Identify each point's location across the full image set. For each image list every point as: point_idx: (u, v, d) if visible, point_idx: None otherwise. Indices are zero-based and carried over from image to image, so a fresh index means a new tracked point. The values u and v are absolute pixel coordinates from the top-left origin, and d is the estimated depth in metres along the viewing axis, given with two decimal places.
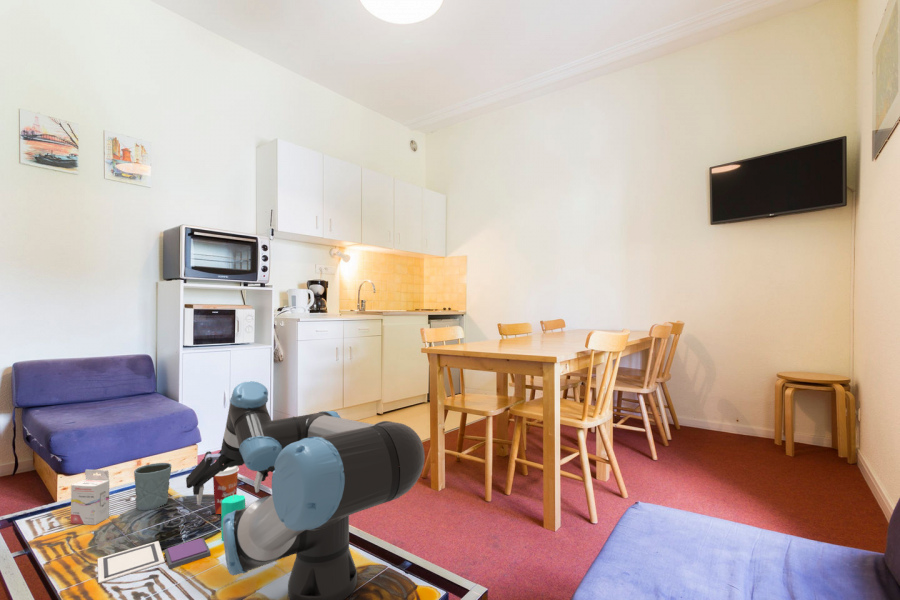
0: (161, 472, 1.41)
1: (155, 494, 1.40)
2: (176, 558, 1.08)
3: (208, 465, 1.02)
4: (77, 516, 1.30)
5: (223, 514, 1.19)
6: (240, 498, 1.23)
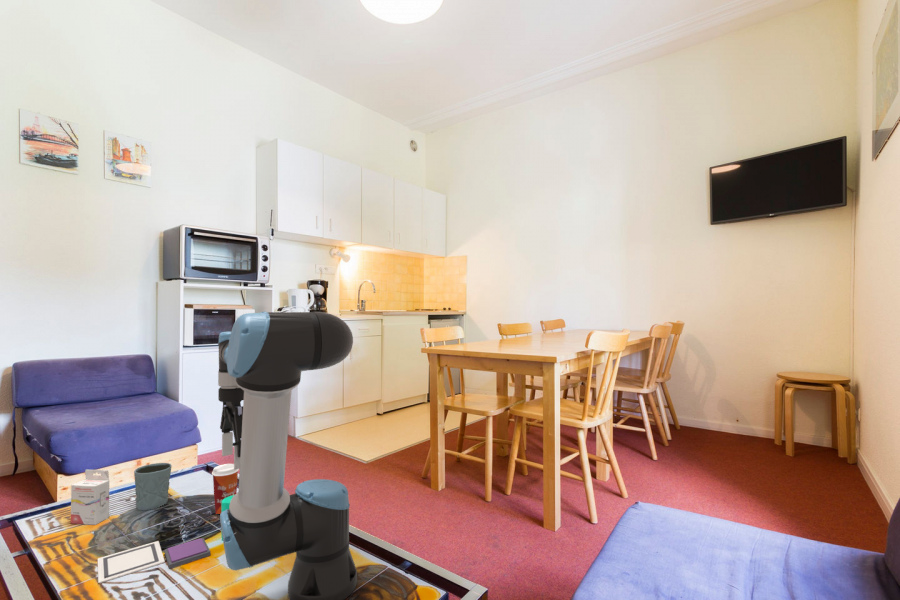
0: (161, 472, 1.41)
1: (155, 494, 1.40)
2: (176, 558, 1.08)
3: (223, 407, 1.26)
4: (77, 516, 1.30)
5: None
6: None
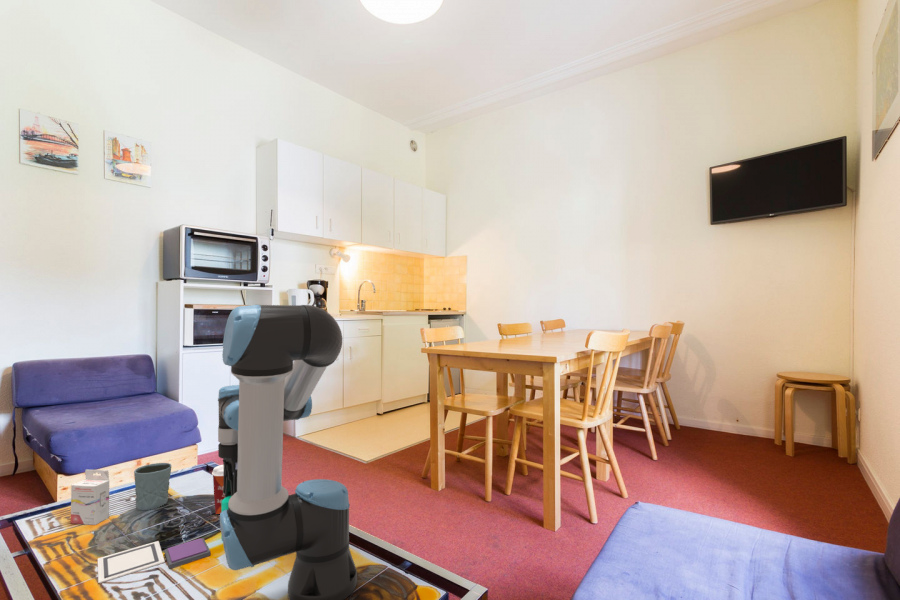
0: (161, 472, 1.41)
1: (155, 494, 1.40)
2: (176, 558, 1.08)
3: (224, 466, 1.25)
4: (77, 516, 1.30)
5: None
6: None
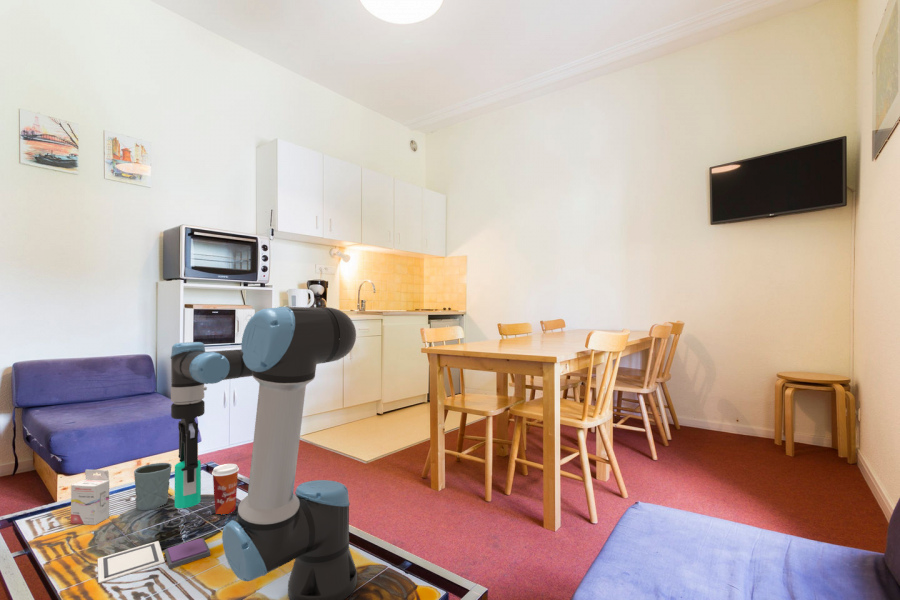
0: (161, 472, 1.41)
1: (155, 494, 1.40)
2: (176, 558, 1.08)
3: None
4: (77, 516, 1.30)
5: (176, 479, 1.11)
6: None
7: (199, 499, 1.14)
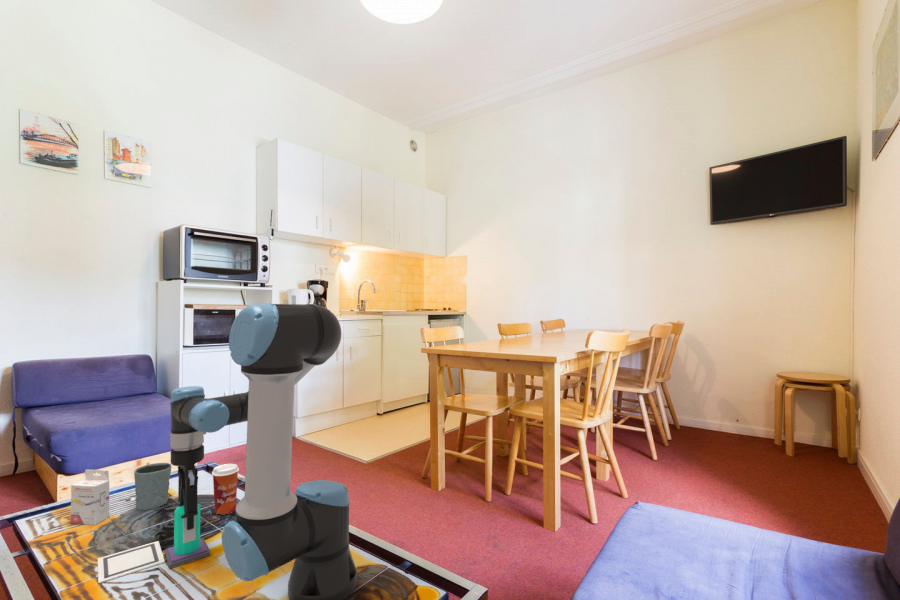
0: (161, 472, 1.41)
1: (155, 494, 1.40)
2: (176, 558, 1.08)
3: None
4: (77, 516, 1.30)
5: (175, 525, 1.10)
6: None
7: (198, 544, 1.13)
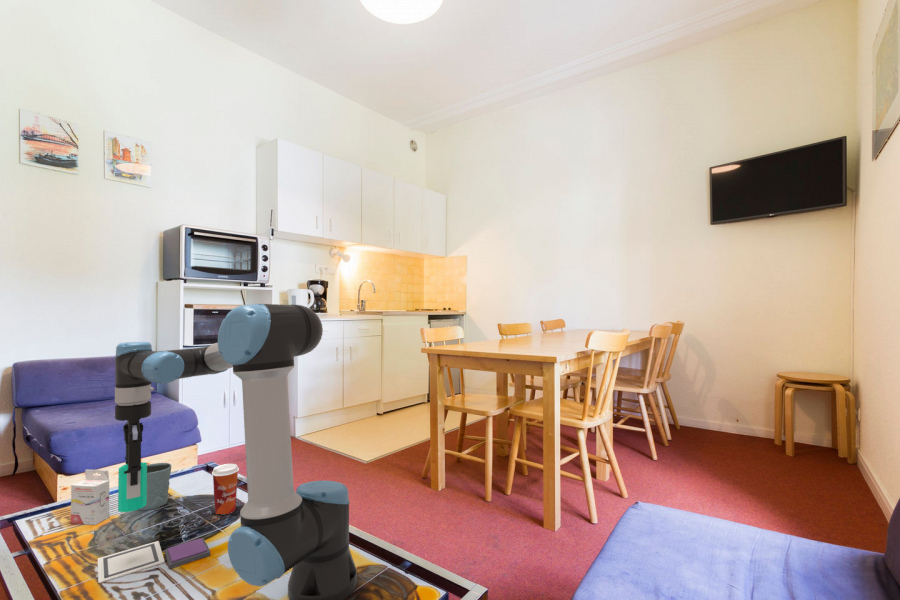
0: (161, 472, 1.41)
1: (155, 494, 1.40)
2: (176, 558, 1.08)
3: None
4: (77, 516, 1.30)
5: (119, 481, 1.08)
6: (141, 465, 1.12)
7: (144, 502, 1.11)
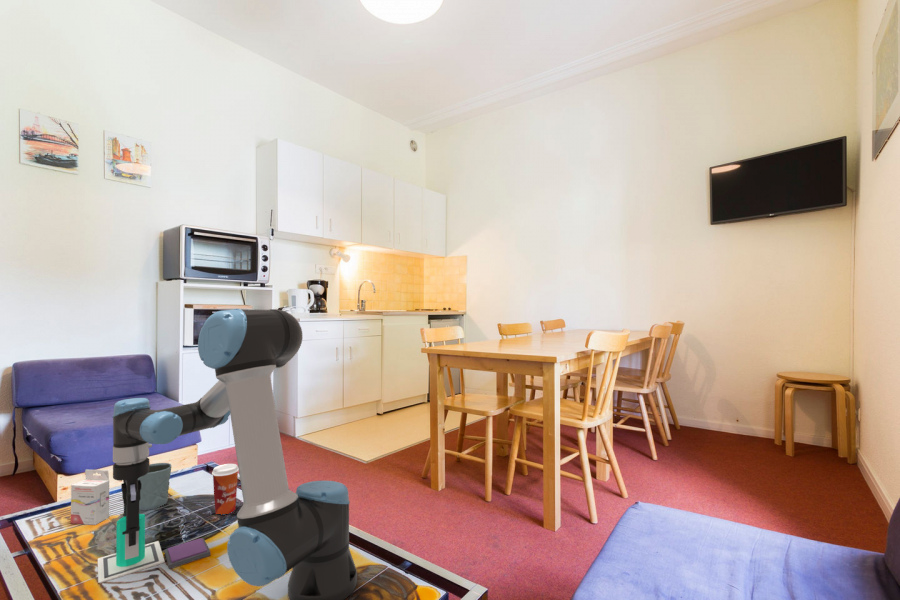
0: (161, 472, 1.40)
1: (155, 494, 1.40)
2: (176, 558, 1.08)
3: None
4: (77, 516, 1.30)
5: (117, 536, 1.08)
6: (140, 517, 1.11)
7: (143, 555, 1.10)
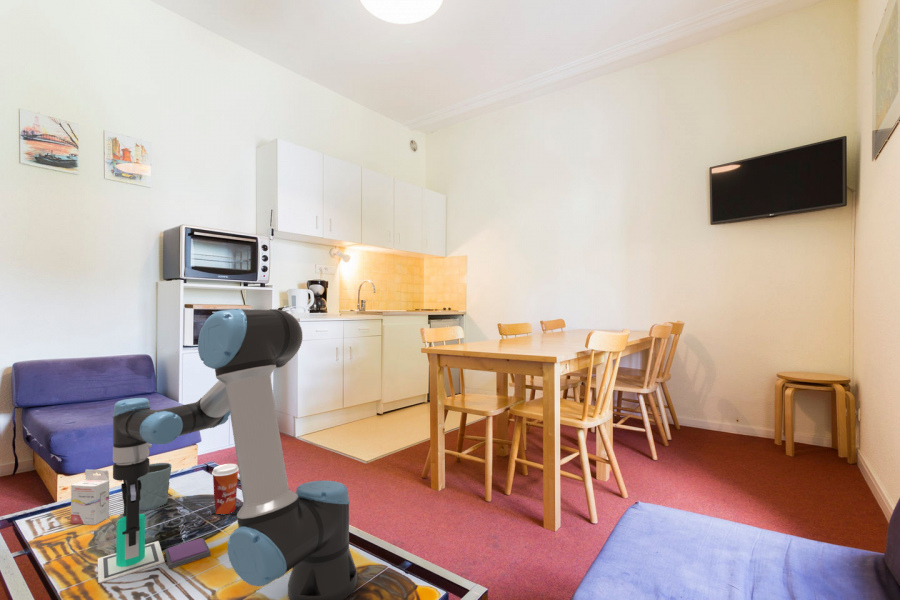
0: (161, 472, 1.41)
1: (155, 494, 1.40)
2: (176, 558, 1.08)
3: None
4: (77, 516, 1.30)
5: (117, 536, 1.08)
6: (140, 517, 1.11)
7: (143, 555, 1.10)
